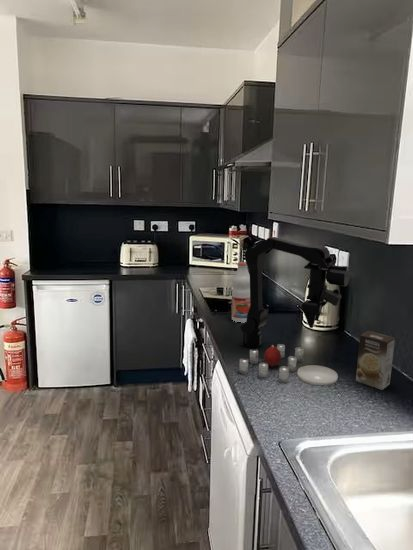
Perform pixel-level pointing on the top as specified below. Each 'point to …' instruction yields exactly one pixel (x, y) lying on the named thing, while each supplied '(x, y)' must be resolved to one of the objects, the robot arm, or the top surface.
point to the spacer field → (264, 366)
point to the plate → (317, 375)
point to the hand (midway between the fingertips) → (313, 324)
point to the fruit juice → (241, 293)
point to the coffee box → (375, 359)
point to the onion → (272, 356)
